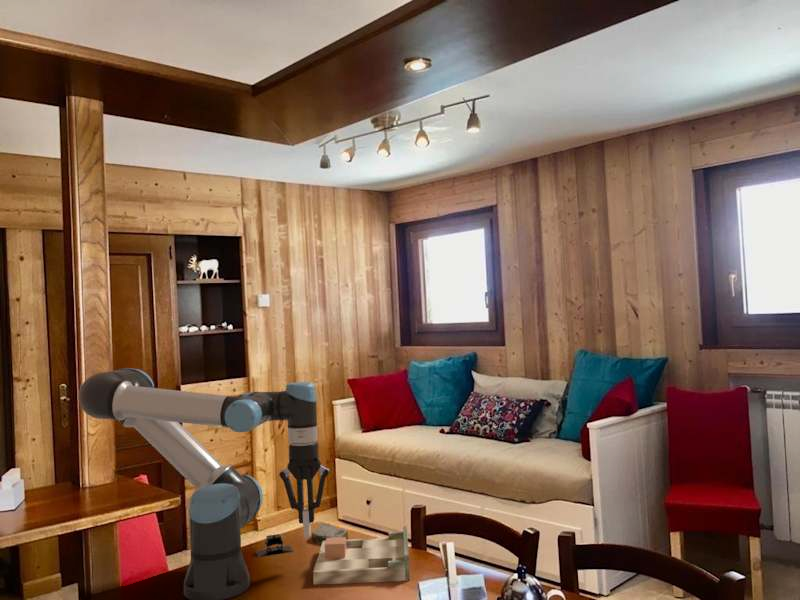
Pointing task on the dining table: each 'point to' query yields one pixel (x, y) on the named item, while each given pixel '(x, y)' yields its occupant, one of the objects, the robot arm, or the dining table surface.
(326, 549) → the block
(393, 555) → the beige divided tray
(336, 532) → the stone
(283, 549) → the black bracket on plate
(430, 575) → the dining table surface
